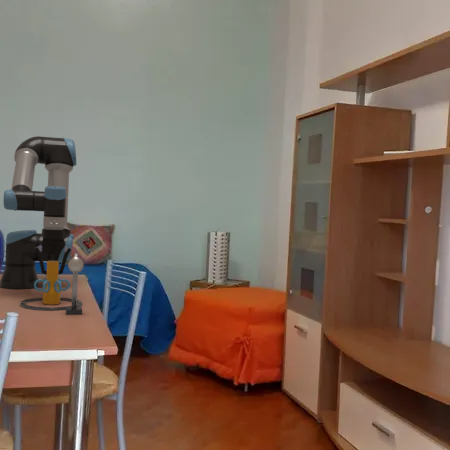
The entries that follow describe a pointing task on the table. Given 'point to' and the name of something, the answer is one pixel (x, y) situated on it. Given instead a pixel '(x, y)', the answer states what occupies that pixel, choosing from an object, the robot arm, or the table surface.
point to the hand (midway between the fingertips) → (51, 292)
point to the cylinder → (52, 284)
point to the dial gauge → (75, 283)
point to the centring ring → (47, 307)
